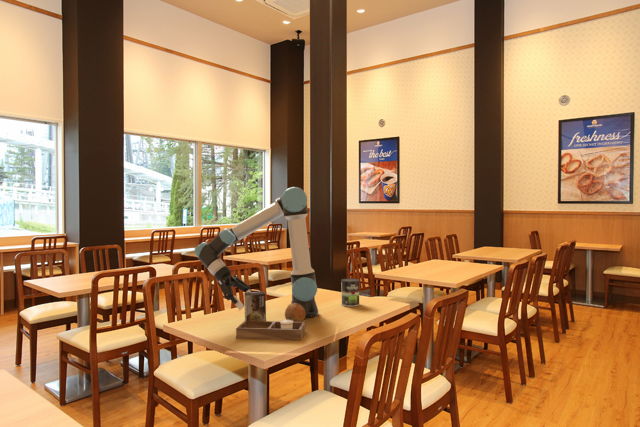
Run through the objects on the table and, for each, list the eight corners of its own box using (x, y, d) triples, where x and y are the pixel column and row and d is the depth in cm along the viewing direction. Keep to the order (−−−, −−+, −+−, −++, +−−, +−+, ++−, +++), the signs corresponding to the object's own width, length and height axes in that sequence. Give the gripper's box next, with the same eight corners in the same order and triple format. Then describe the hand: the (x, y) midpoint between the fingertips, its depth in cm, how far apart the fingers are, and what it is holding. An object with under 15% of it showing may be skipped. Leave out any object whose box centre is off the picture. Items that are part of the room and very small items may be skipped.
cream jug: (281, 333, 176) (281, 319, 176) (294, 333, 175) (294, 319, 175) (278, 337, 170) (278, 323, 170) (292, 337, 170) (291, 323, 170)
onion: (308, 322, 196) (307, 301, 196) (302, 327, 187) (302, 305, 186) (288, 320, 199) (288, 300, 198) (282, 326, 189) (281, 304, 189)
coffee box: (264, 325, 191) (263, 290, 191) (266, 329, 185) (266, 293, 185) (244, 327, 188) (244, 292, 188) (246, 331, 182) (245, 294, 182)
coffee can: (362, 306, 228) (362, 280, 228) (344, 307, 225) (344, 281, 225) (356, 302, 238) (356, 277, 238) (339, 303, 235) (338, 278, 235)
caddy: (245, 331, 181) (244, 320, 181) (305, 333, 178) (305, 322, 178) (236, 340, 169) (236, 328, 169) (300, 342, 166) (300, 330, 166)
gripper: (228, 272, 204) (256, 304, 200) (199, 280, 180) (230, 317, 176) (237, 262, 202) (265, 293, 198) (210, 269, 179) (241, 305, 174)
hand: (249, 304), depth 187 cm, fingers open, 13 cm apart
